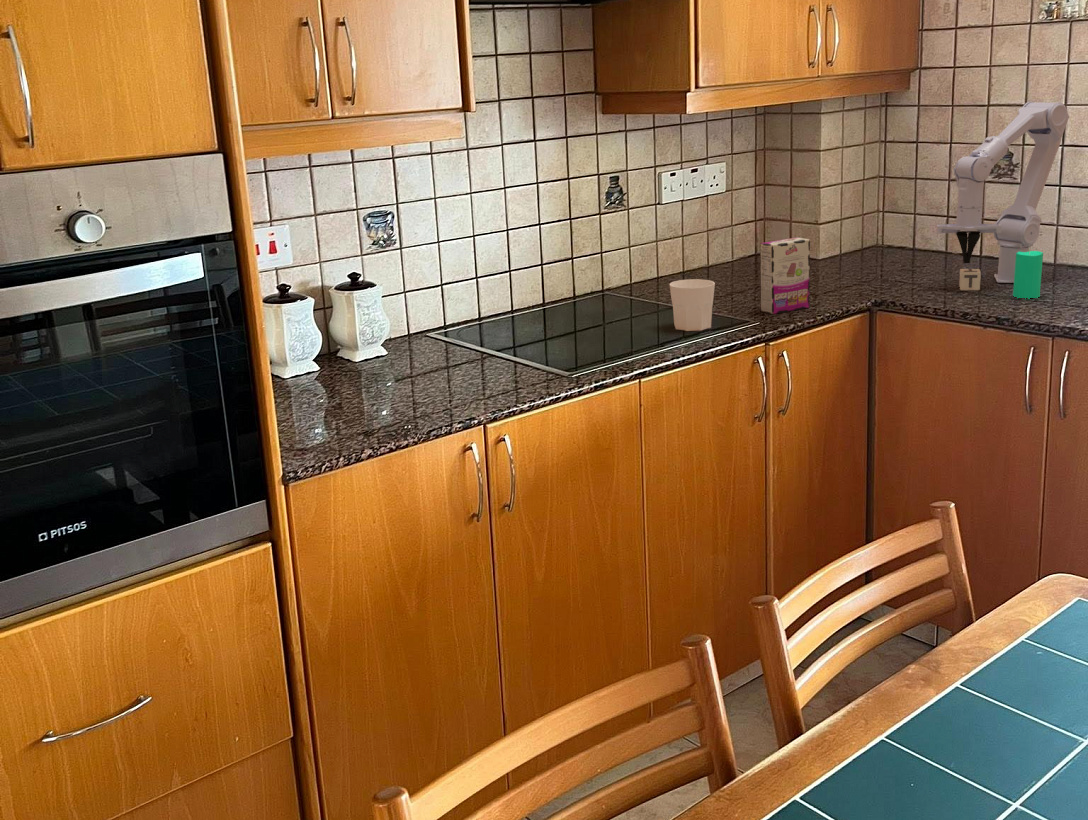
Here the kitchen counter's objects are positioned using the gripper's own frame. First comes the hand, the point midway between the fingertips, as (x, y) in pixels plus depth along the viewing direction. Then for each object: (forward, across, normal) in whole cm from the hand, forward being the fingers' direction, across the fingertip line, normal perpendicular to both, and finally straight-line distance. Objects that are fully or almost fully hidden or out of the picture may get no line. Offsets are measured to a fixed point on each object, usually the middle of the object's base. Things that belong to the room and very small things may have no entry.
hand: (966, 262), depth 286 cm
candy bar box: (+7, -42, -26) cm, 50 cm away
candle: (+7, +13, -9) cm, 17 cm away
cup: (+7, -61, -45) cm, 76 cm away
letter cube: (+7, +1, +1) cm, 7 cm away
